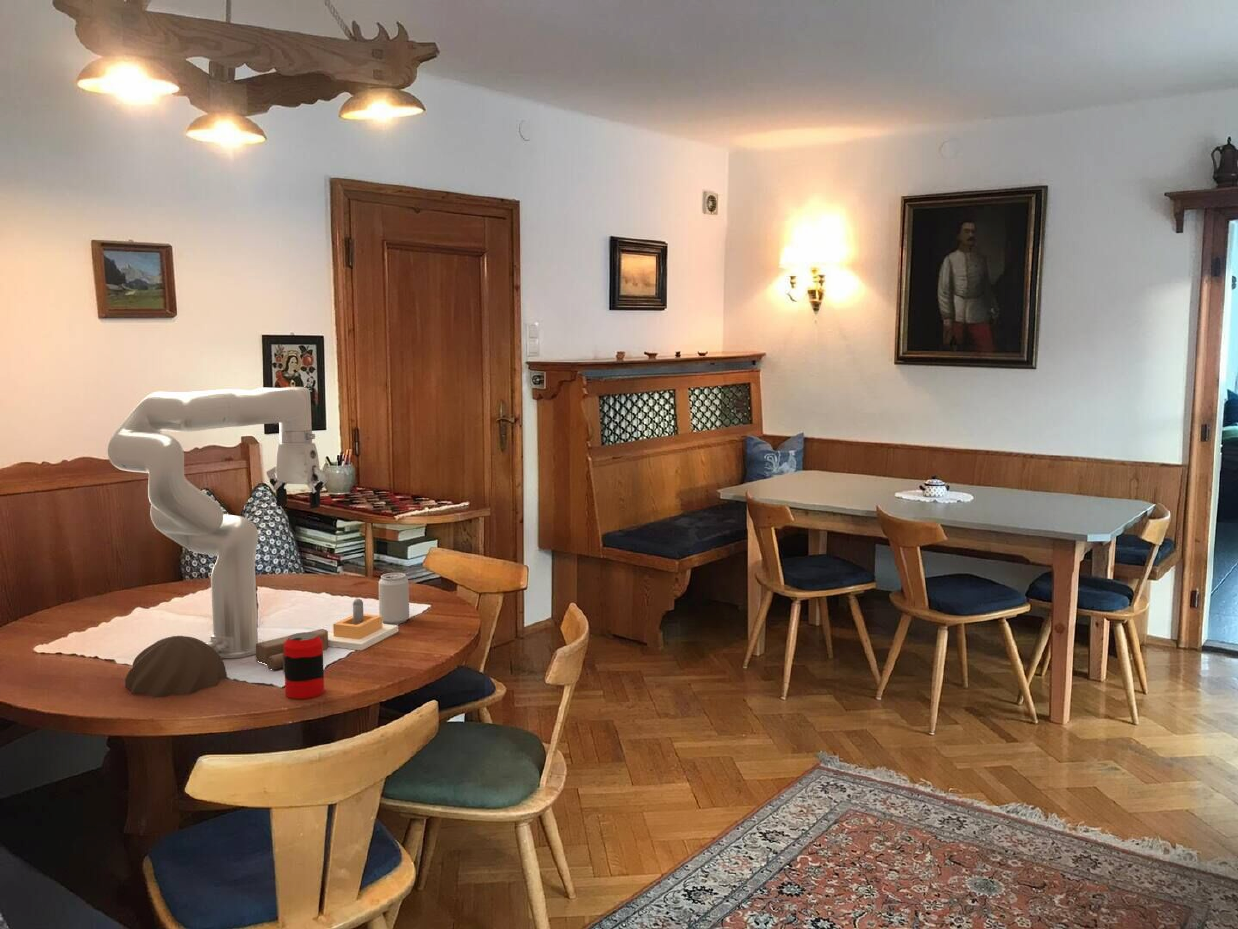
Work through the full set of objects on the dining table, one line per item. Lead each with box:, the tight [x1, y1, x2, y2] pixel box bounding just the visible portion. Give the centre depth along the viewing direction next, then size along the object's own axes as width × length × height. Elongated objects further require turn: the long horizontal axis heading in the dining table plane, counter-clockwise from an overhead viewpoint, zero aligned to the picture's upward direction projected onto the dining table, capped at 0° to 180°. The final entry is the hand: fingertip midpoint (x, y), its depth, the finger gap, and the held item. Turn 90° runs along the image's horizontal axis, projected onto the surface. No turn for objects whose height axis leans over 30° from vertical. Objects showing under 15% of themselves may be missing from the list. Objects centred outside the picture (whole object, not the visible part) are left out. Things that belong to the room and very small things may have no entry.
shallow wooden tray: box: [332, 613, 383, 639], centre depth 246 cm, size 10×7×3 cm
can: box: [378, 572, 410, 625], centre depth 260 cm, size 8×8×12 cm
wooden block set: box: [255, 628, 329, 673], centre depth 229 cm, size 17×6×18 cm
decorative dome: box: [124, 635, 228, 699], centre depth 215 cm, size 19×20×10 cm
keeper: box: [328, 598, 399, 651], centre depth 246 cm, size 16×12×10 cm
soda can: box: [284, 631, 325, 700], centre depth 208 cm, size 8×8×12 cm
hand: (298, 506), depth 252 cm, fingers open, 9 cm apart
